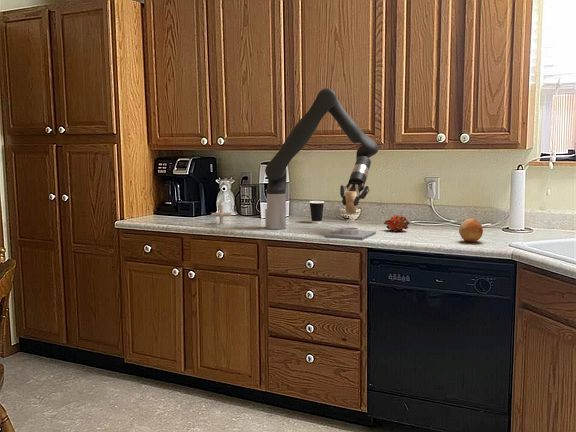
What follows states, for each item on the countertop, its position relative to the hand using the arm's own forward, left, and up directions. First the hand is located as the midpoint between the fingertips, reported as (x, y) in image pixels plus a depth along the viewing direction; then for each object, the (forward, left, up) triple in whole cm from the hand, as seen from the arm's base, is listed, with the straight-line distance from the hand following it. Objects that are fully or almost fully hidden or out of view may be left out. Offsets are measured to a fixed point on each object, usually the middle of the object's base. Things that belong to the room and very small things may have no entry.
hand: (349, 204), depth 270 cm
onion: (+52, +8, -15) cm, 55 cm away
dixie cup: (-31, +33, -15) cm, 47 cm away
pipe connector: (-74, +8, -15) cm, 76 cm away
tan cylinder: (0, +2, -4) cm, 5 cm away
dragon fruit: (+15, +23, -15) cm, 31 cm away
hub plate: (0, +2, -14) cm, 15 cm away
